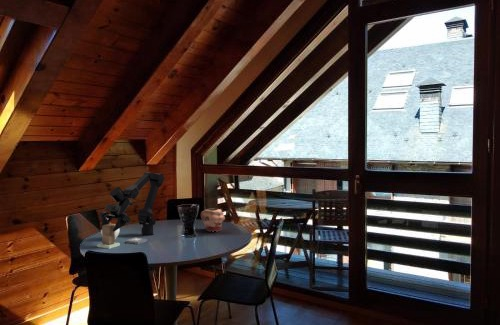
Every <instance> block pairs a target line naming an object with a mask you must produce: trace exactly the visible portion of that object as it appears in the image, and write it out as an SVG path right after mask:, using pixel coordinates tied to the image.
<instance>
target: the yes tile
mask: <svg viewBox="0 0 500 325" xmlns="http://www.w3.org/2000/svg"><path fill="white" fill-rule="evenodd" d="M119 246H121V244H120V242H115V243H114V244H111V245H106V244H102V243H98V244H96V247H98V248H103V249H109V250H110V249H113V248H116V247H119Z"/></svg>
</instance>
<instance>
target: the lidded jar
mask: <svg viewBox="0 0 500 325" xmlns="http://www.w3.org/2000/svg"><path fill="white" fill-rule="evenodd" d="M109 225H114V226H115V225H116V223H112V222H110V223H109ZM100 234H101V235H102V230H101V229H100ZM119 235H120V228H119V229H117V230H116V231H115V240H116V239H117V237H118V236H119Z"/></svg>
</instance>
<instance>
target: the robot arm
mask: <svg viewBox="0 0 500 325" xmlns="http://www.w3.org/2000/svg"><path fill="white" fill-rule="evenodd" d="M164 181H165V176H164V174H163V173H155V172H144V173H143V175H142V176H140V178H139V179H138V180H137V181H136V182H134V183H133V184H132V185H130V186H128V187H125V188H124V190H123V189H122V188H121V187H120V186H116V187H114V189H112V190H110V192H109V196H110V197H111V198H112V199H113V200H114V201H115V202H116V203H115V204H112V203H111V204H109V203H106V205H105V208H104V210H105V211H101V212H100V213H99V214H98V216H99V217H100V219H101V223H100V227H99V228H100V231H101V230H102V226H103V225H107V224H109V223H111V222H110V221H111V220H117V222H116V223H115V224H116V225H115V227H114V228H113V232H114V231H116V230H117V229H119V228H122V227H124V226H126V225H128V224H130V223H131V219H132V218H131V217H130V216H129V215H128V214H127V209H128V208H129V206H133V201H132V200H135V199H136V198H137V197H138V195H139V194H140V190H141V189H143V188H144V186H145V185H146V184H147V183H148V182H149V185H150V187H149V191H148V194H147V197H146V199H145V202H144V206H143V208H140V209H139V210H138V213H137V221H138V223H139V225H140V226H141V227H140V234H141V235H142V236H143V237H145V236H146V237H147V236H153V235H155V233H154V225H156V222H157V221H156V219H154V213H153V208H154V205H155V201H156V198H157V193H158V192H159V191H158V190H159V188H160V187H161V186H162V185H163V183H164ZM130 199H131V200H130Z"/></svg>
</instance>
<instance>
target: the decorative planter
mask: <svg viewBox="0 0 500 325" xmlns="http://www.w3.org/2000/svg"><path fill="white" fill-rule="evenodd" d="M200 218H201V220H202V223H203V224H204V228H205V230H206V231H207V232H211V231H212V233H213V232H214V231H216V232H220V231H222V229H223V222H224V221H225V220H226V217H225V215H224V213H223V210H222V209H221V208H220V209H219V208H216V207H213V208H207V209H206V208H205V209H204V210H203V211H201V212H200ZM214 233H215V232H214Z"/></svg>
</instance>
